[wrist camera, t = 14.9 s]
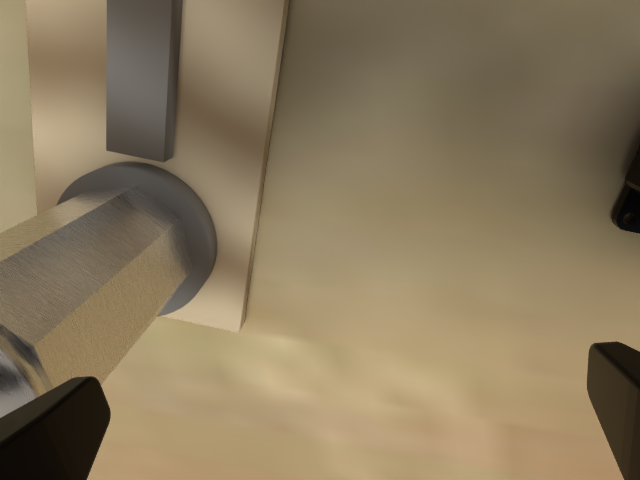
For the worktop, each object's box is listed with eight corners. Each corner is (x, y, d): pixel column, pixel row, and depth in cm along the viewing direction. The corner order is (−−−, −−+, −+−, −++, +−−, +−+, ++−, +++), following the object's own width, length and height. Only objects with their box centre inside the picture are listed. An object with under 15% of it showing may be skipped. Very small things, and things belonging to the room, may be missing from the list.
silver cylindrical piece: (214, 240, 20) (75, 405, 10) (153, 325, 22) (-9, 528, 12) (102, 160, 19) (-157, 263, 10) (48, 256, 21) (-208, 418, 12)
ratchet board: (244, 322, 24) (213, 387, 19) (54, 280, 24) (-22, 335, 19) (312, -168, 16) (288, -257, 11) (32, -220, 16) (-102, -327, 12)
